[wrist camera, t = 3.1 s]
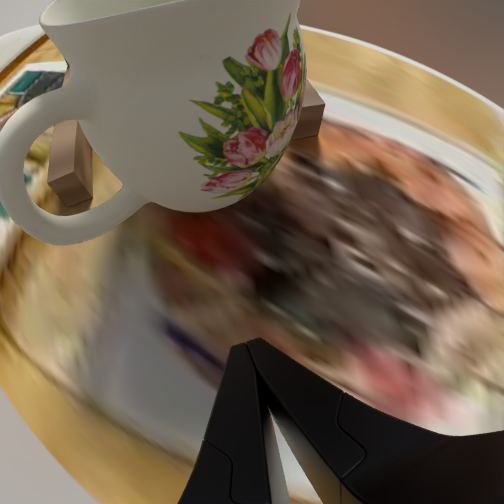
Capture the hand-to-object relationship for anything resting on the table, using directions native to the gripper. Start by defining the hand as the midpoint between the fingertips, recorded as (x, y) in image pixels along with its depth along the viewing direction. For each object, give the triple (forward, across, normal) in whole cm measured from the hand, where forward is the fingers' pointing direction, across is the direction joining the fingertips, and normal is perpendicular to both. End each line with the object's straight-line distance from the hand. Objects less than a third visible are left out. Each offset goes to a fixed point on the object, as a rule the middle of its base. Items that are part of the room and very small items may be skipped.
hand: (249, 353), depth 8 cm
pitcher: (+13, 0, -3) cm, 14 cm away
